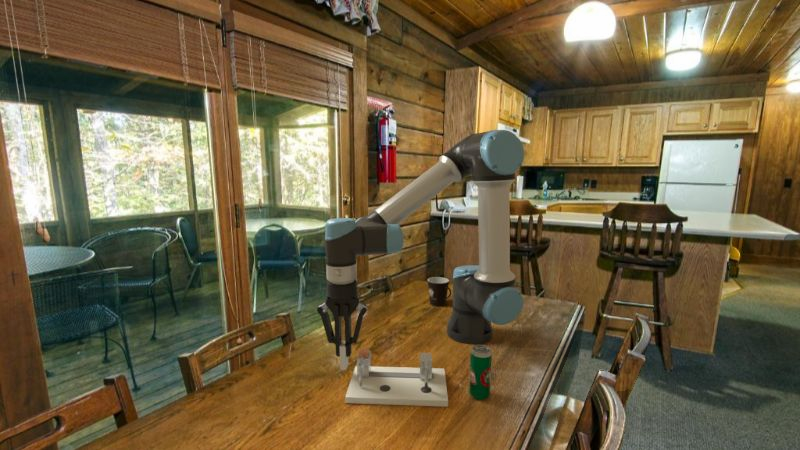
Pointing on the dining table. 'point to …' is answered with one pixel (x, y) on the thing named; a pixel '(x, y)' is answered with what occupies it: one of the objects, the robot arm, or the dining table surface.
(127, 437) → the dining table surface
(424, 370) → the fixed leg
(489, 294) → the robot arm
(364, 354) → the sliding leg
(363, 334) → the dining table surface
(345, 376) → the dining table surface
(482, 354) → the soda can
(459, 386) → the dining table surface
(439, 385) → the bolt plate
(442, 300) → the coffee mug
